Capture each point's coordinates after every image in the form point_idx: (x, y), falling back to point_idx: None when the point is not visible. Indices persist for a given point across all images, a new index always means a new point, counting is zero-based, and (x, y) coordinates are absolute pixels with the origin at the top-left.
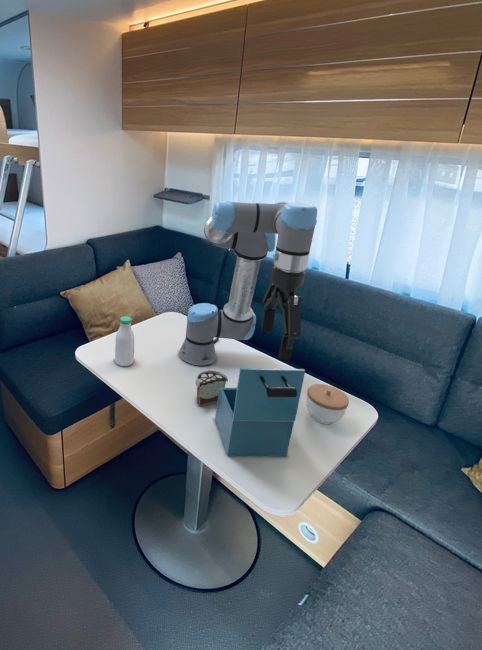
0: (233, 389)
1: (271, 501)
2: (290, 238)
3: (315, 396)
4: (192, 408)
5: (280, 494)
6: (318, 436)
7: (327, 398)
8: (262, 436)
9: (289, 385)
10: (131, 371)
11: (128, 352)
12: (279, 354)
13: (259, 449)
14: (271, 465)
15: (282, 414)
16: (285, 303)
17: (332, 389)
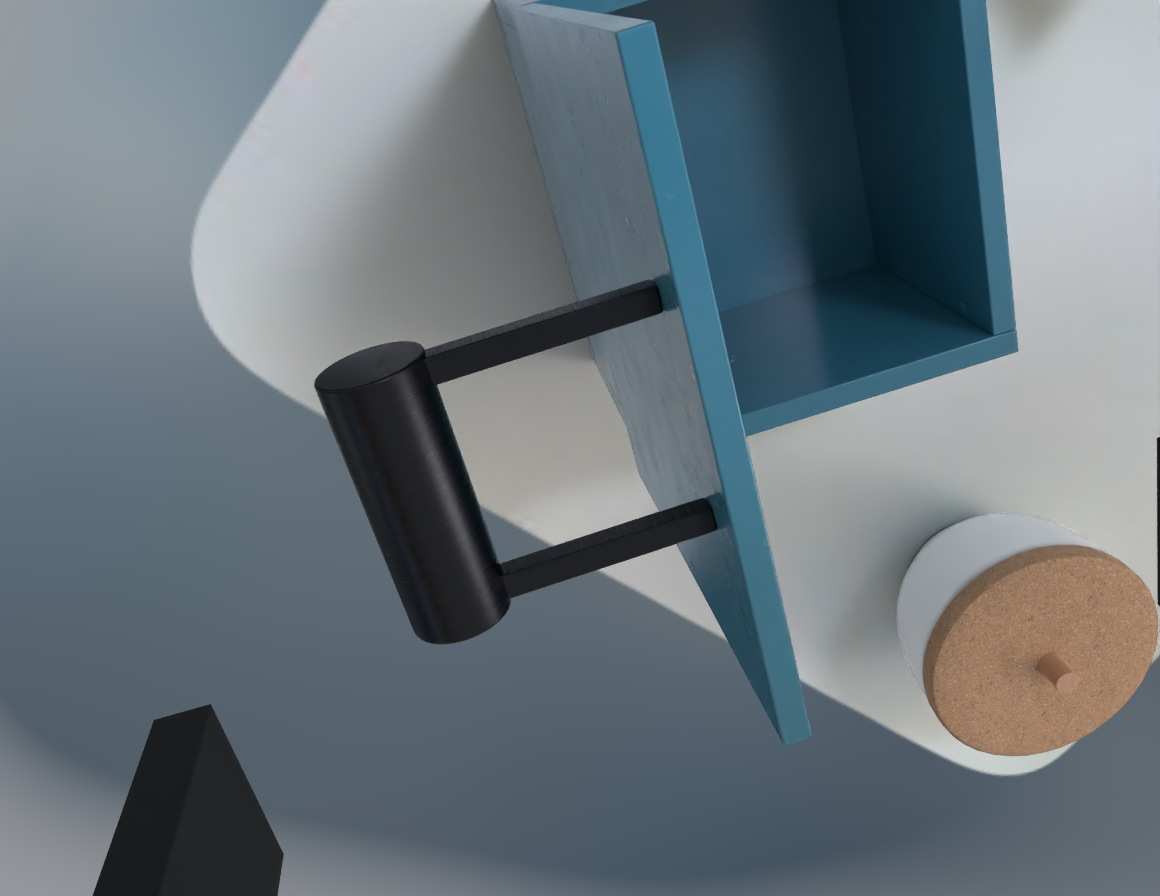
0: (960, 14)
1: (220, 261)
2: None
3: (1021, 594)
4: None
5: (291, 311)
6: (799, 537)
7: (1007, 656)
8: (572, 238)
9: (555, 575)
10: None
11: None
12: (166, 766)
13: (556, 211)
14: (496, 275)
15: (628, 407)
16: None
17: (1102, 690)
